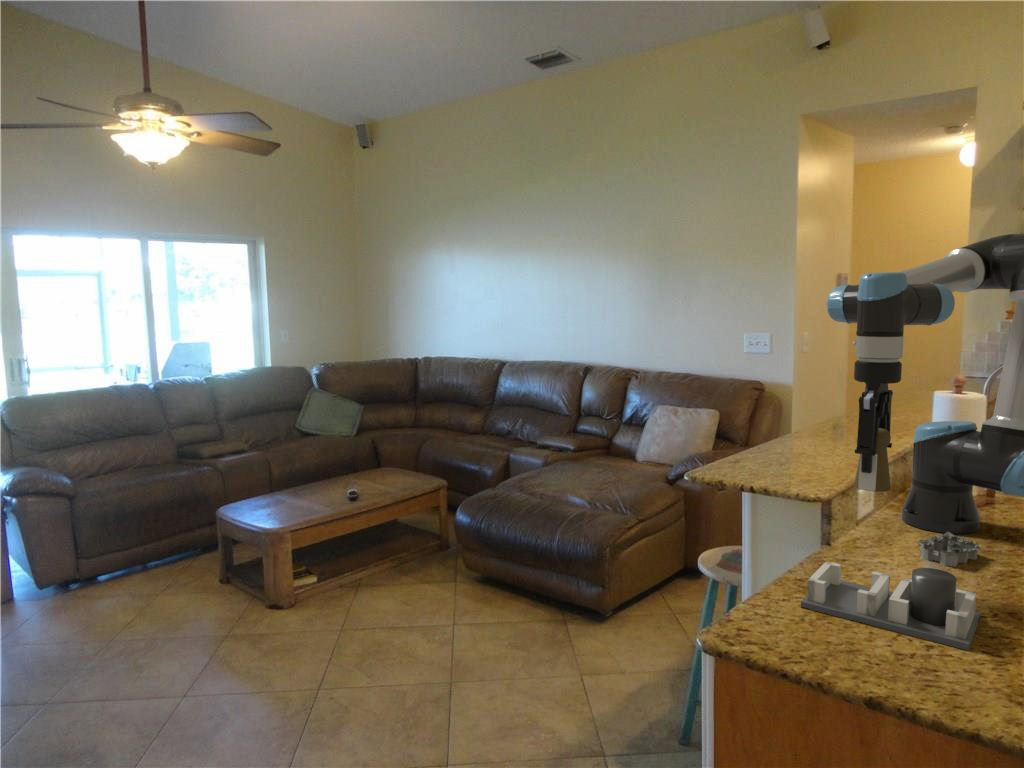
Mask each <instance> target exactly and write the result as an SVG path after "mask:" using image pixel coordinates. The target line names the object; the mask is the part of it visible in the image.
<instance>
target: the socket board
mask: <svg viewBox="0 0 1024 768" xmlns="http://www.w3.org/2000/svg"><path fill="white" fill-rule="evenodd" d="M911 572H912V573H911V578H906V577H902V579H901V580H900V582H899V583H898V585H897V586H896V587H895V589H894V591H890V587H891V586H890V583H891V582H890V581H891V574H887V573H882V572H878V571H872V572H871V577H870V578H871V579H870V581H871V582H870V586H866V585H862V584H857V583H855V582H854V583H853V582H850V581H845V580H842V579H841V578H842V564H840V563H836V562H831V561H827V560H826V561H824V562H823V564H822V565H821V566H819V568H818V569H817V570H816V571H815V572H814V573H813V574H812V575H811V576H810V577H809V578H808V579H807V585H806V586H807V590H806V596H804V597H803V598H802V599H801V601H800V608H802V607H805V608H804V609H806V608H809V609H808V610H810V609H812V610H811V611H813V610H815V611H814V612H817V611H818V612H817V613H821V612H822V614H825V613H826V614H825V615H830V616H834V617H838V618H841V619H844V618H845V619H844V620H848V619H849V621H852V620H853V621H852V622H856V621H858V622H857V623H860V622H862V623H861V624H864V623H865V625H868V624H869V625H868V626H872V627H876V628H879V629H883V630H888V631H891V632H895V633H900V634H902V633H903V635H907V636H910V637H915V638H919V639H921V640H922V639H923V640H927V641H930V642H934V643H937V644H941V645H942V644H943V645H946V646H950V647H953V648H957V649H961V650H965V651H968V652H969V651H970V648H971V645H972V643H973V639H974V637H975V634H976V631H977V628H978V625H979V623H980V620H979V619H981V611H976V607H977V606H976V602H977V601H976V600H977V593H976V592H972V591H967V590H962V589H958V588H957V577H956V576H955V574H953V573H951V572H948V571H946V570H944V569H937V568H932V567H918V568H914V569H913V570H912V571H911ZM978 622H979V623H978Z"/></svg>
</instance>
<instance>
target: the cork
mask: <svg viewBox="0 0 1024 768" xmlns="http://www.w3.org/2000/svg"><path fill="white" fill-rule="evenodd" d="M891 436H892V435H891V432H890V433H889V431H887V430H886V429H882V428H879V430H878V438H877V446H876V454H875V455H877V473H876V491H873V492H876V493H877V492H878V493H879V492H889V491H891V489H892V487H891V478H890V467H889V458H888V457H889V455H888V448H887V446H888V445H889V444H890V443H891V438H892V437H891ZM859 460H860V456H859V457H858V464H857V469H856V474H855V479H854V484H853V486H854V488H855V489H858V481H859ZM860 490H862V489H860ZM862 491H863V490H862ZM865 491H868V490H865ZM868 492H869V491H868Z"/></svg>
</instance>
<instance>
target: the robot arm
mask: <svg viewBox="0 0 1024 768" xmlns="http://www.w3.org/2000/svg"><path fill="white" fill-rule="evenodd" d="M858 282H859V283H858V284H846V285H839V286H836V287H834V288H833V289H832V290H831V291H830V293H829V294H828V296H827V299H826V306H827V307H826V309H827V314H828V316H829V317H830V318H831V319H832V320H833V321H835V322H837V323H846V324H856V331H855V332H856V333H855V335H856V336H855V340H853V342H852V345H853V346H855V355H854V356H855V358H858V359H857V360H856V361H855V362H854V370H853V379H854V381H856V382H857V383H858V382H859V383H864V384H865V387H864V391H862V393H861V396H859V399H858V421H857V422H858V425H857V436H856V437H857V438H856V439H857V440H856V449H854V454H858V455H859V457H860V460H859V459H858V462H859V481H858V488H857V490H861V489H862V491H866V490H868V492H874V491H876V473H877V455H875V454H876V446H877V438H878V430H879V428H882V429H886V430H887V431H889V433H890V434H891V421H892V420H891V418H892V399H893V395H894V393H893V389H889V384H898V383H900V382H901V381H902V369H903V364H902V362H901V361H900V360H901V359H902V358H903V357H904V340H905V339H904V338H905V336H904V334H905V333H904V329H905V326H922V325H923V326H932V325H936V324H941V323H943V322H945V321H947V319H949V318H950V316H951V315H952V314H953V312H954V310H955V304H956V303H955V296H954V294H953V293H955V292H957V293H969V292H972V291H975V290H1009V293H1008V294H1009V295H1008V296H1009V297H1010V298H1011V299H1012V300H1013V301H1014V302H1015V307H1014V312H1013V317H1012V322H1011V325H1010V326H1011V327H1010V332H1009V336H1008V341H1007V346H1006V351H1005V356H1004V361H1003V366H1002V370H1001V375H1000V379H999V384H998V389H997V395H996V399H995V402H994V403H995V404H994V410H993V413H992V416H991V417H990V418H989V419H987V420H985V421H983V422H982V425H981V429H980V431H979V430H978V427H977V424H976V423H975V422H973V421H966V420H965V421H964V420H963V421H962V420H960V421H959V420H948V421H947V420H945V421H943V420H942V421H929V422H923V423H921V424H918V425H917V426H916V427H915V430H914V436H913V441H912V444H913V451H912V471H911V472H912V473H911V477H912V478H911V479H912V481H911V487H910V490H909V492H908V494H907V496H906V498H905V501H904V504H903V505H902V508H901V520H902V521H903V522H904V523H906V524H907V525H910V526H913V527H915V528H918V529H922V530H926V531H932V532H934V533H935V532H937V533H942V534H943V533H944V534H945V533H946V532H950V533H951V534H970V533H974V532H977V531H979V530H980V528H981V516H980V513H979V509H978V506H977V503H976V500H975V497H974V493H973V488H974V487H977V488H983V489H987V490H989V491H995V492H998V493H1002V494H1005V495H1007V496H1008V495H1009V496H1017V497H1022V498H1024V233H1012V234H1011V233H1010V234H1008V233H1007V234H1002V235H997V236H993V237H990V238H987V239H986V238H985V239H983V240H979V241H977V242H974V243H971V244H968V245H965V246H961V247H958V248H956V249H952V250H951V251H950V252H948V253H947V254H946V255H945V256H944V257H943V258H940V259H939V258H938V259H937V260H934V261H930V262H927V263H924V264H920V265H918V266H915V267H911V268H908V269H905V270H901V271H898V272H897V271H896V272H869V273H868V272H867V273H864V274H862V275H861V276H860V277H859V281H858ZM892 446H893V443H892V442H890V444H889V445H888V446H887V449H888V448H889V449H892V448H893V447H892Z"/></svg>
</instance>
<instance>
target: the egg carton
mask: <svg viewBox="0 0 1024 768" xmlns="http://www.w3.org/2000/svg"><path fill="white" fill-rule="evenodd" d="M917 547H920V557H921V558H922V559H923V560H924V559H925V561H927V560H929V561H933V560H935V561H934V562H937V561H938V562H937V563H939V565H940V566H943V567H954V568H956V567H958V564H959V563H962V564H967V563H968V560H973V559H974V560H973V561H976V560H978V552H979V551H981V548H982V544H978V545H977V544H975V543H974V542H973V539H972V540H969V539H967V538H964V537H961V536H959V535H958V536H957V535H955V534H954V533H950V532H946V533H944V534H943V533H942V534H941V535H937V536H936V535H934V536H932V537H930V538H927V539H919V541H918V544H917ZM975 559H976V560H975Z"/></svg>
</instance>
